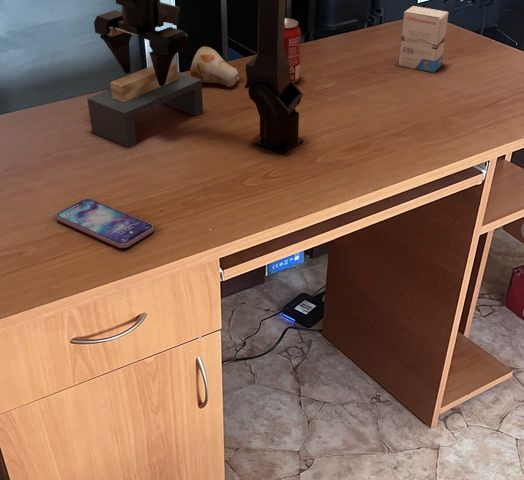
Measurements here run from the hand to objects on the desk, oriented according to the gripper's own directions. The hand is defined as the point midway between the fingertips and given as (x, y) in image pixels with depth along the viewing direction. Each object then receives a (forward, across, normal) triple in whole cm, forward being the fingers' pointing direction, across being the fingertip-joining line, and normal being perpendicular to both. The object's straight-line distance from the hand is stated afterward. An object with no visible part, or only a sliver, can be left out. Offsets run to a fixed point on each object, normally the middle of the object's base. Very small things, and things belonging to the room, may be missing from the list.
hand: (144, 79), depth 146 cm
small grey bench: (+8, 0, 0) cm, 8 cm away
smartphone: (+8, -22, +31) cm, 39 cm away
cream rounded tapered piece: (+9, +3, -23) cm, 25 cm away
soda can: (+9, -7, -33) cm, 35 cm away
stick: (+2, 0, 0) cm, 2 cm away
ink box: (+9, -25, -59) cm, 65 cm away
